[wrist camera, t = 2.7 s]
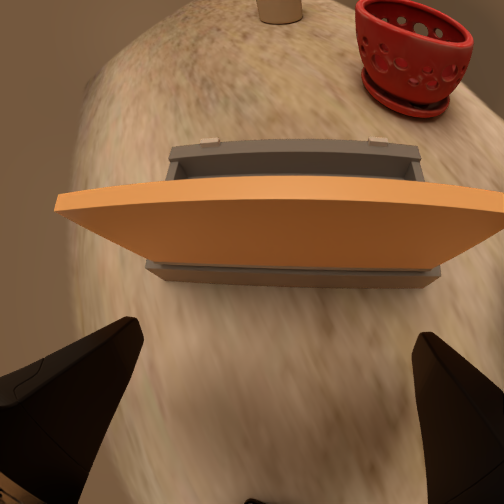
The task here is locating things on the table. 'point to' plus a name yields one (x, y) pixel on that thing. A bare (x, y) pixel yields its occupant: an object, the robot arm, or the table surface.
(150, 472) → the table surface
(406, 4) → the plant pot
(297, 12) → the travel mug
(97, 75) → the table surface
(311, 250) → the cover
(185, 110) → the table surface
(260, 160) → the grey rectangular tray
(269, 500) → the table surface
